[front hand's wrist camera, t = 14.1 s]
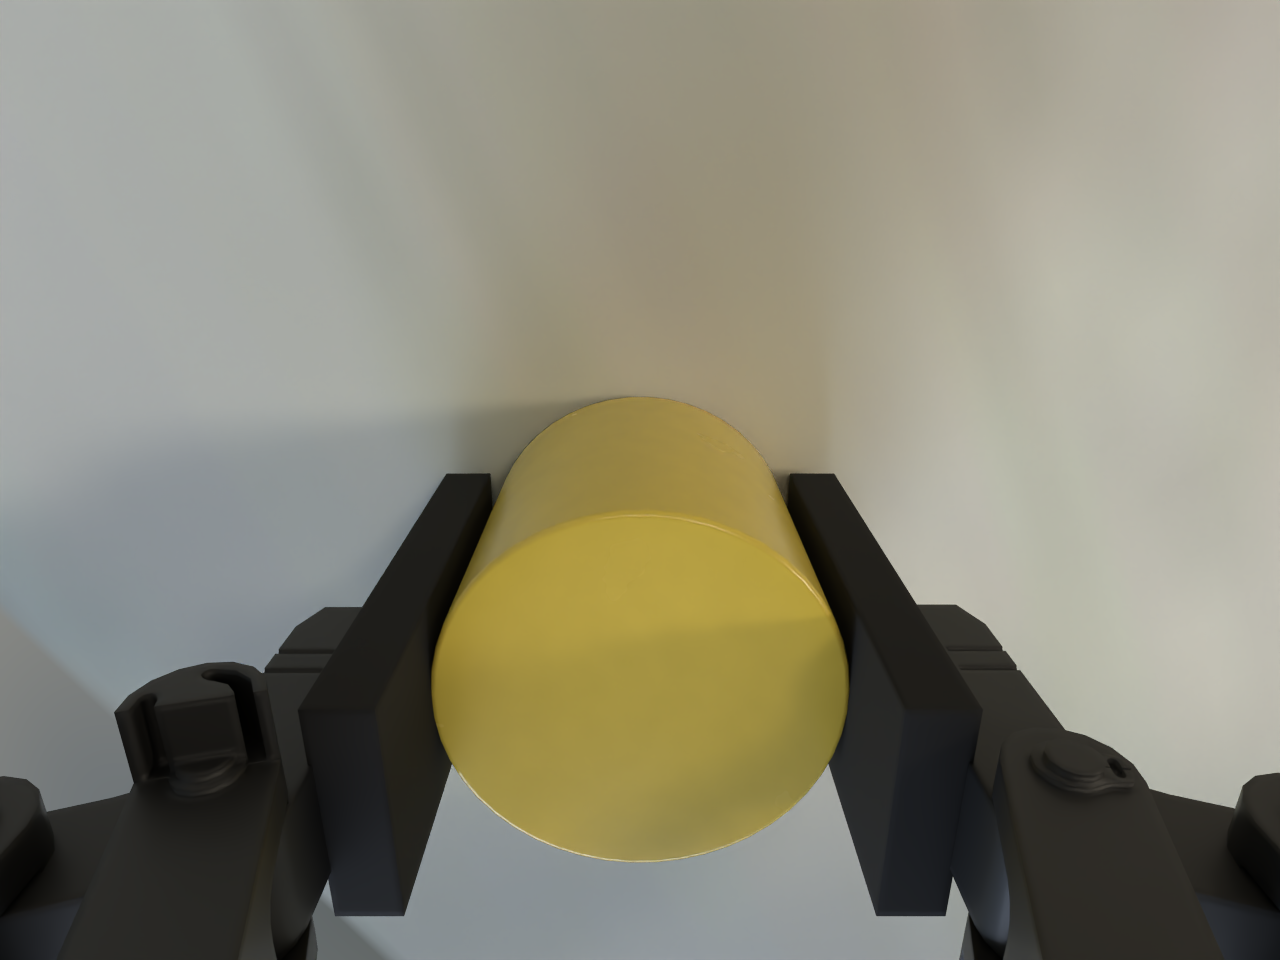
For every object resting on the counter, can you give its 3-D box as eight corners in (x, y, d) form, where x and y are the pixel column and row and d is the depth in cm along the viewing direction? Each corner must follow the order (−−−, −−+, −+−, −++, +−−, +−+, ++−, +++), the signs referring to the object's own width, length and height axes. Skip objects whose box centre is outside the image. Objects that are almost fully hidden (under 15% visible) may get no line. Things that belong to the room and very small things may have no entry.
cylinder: (515, 370, 14) (450, 475, 9) (817, 424, 14) (905, 552, 9) (480, 635, 15) (411, 836, 11) (747, 677, 16) (793, 889, 11)
